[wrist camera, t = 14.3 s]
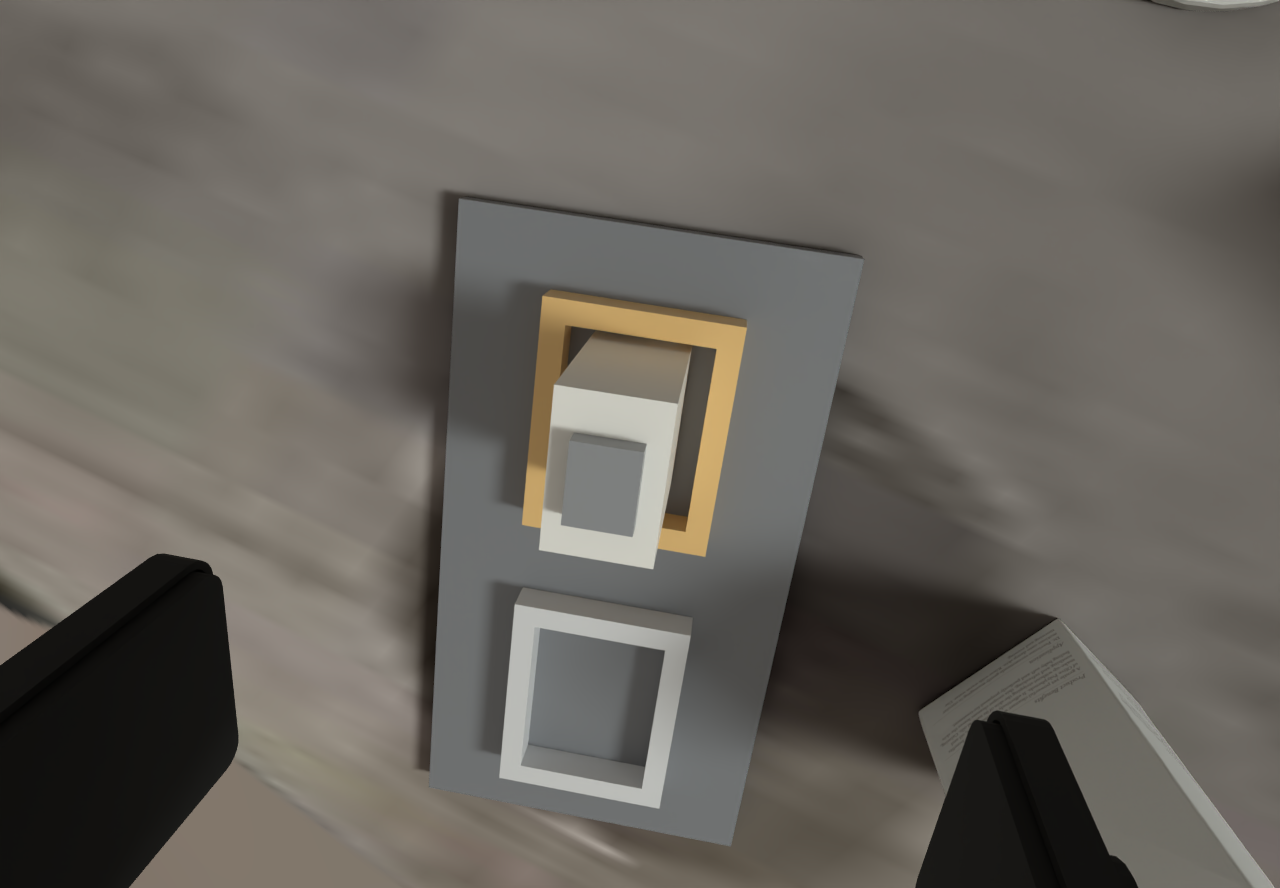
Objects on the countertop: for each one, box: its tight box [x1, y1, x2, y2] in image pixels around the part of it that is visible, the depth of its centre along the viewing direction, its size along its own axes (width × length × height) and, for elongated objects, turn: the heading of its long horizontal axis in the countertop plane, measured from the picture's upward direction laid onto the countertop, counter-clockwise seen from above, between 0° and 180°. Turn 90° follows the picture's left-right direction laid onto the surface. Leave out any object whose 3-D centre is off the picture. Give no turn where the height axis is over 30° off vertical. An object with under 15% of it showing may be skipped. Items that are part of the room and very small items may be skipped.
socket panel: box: [429, 197, 864, 846], centre depth 37 cm, size 16×30×2 cm, turn 172°
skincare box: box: [919, 619, 1275, 888], centre depth 31 cm, size 8×7×16 cm
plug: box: [539, 331, 692, 569], centre depth 31 cm, size 4×6×9 cm, turn 173°
